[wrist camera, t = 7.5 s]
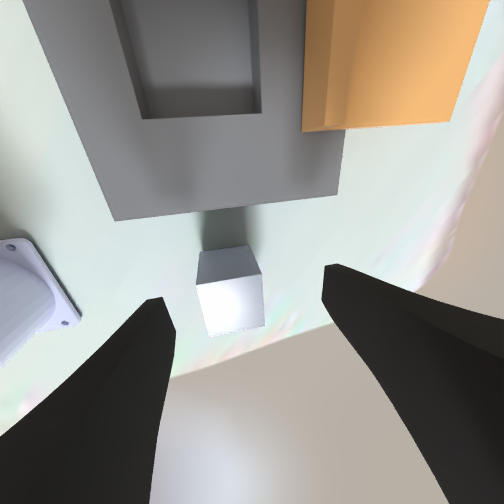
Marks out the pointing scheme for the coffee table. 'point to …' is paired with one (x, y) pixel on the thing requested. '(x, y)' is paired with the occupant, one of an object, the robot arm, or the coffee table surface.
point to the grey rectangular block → (230, 290)
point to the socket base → (189, 101)
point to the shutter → (386, 61)
